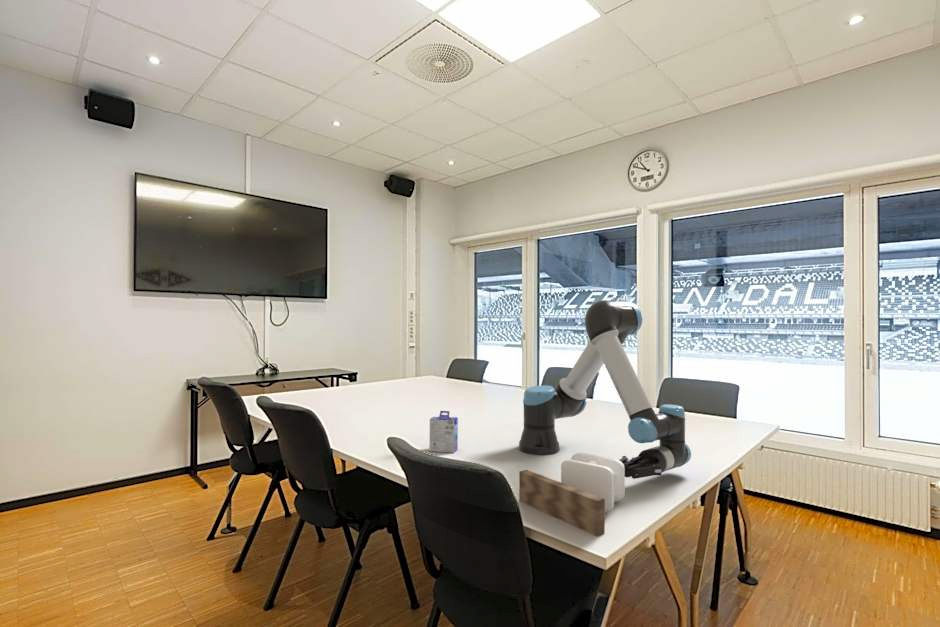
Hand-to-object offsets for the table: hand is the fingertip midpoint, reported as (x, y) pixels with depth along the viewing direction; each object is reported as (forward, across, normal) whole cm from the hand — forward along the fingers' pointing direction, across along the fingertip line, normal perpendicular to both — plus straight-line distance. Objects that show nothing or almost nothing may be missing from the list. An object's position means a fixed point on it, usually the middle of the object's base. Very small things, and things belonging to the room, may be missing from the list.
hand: (607, 476), depth 130 cm
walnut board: (+19, +1, -6) cm, 20 cm away
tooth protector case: (+5, +2, -7) cm, 8 cm away
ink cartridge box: (+9, +67, -7) cm, 68 cm away
